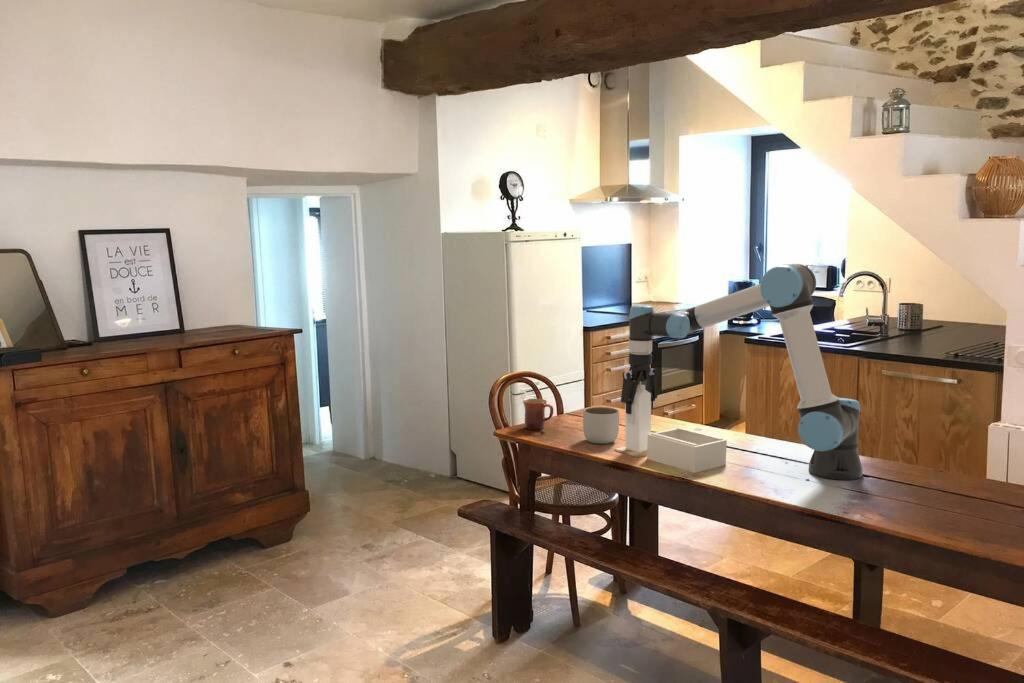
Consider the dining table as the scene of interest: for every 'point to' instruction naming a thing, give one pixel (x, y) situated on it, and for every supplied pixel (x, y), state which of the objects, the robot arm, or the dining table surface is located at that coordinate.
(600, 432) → the planter
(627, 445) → the milk
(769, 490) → the dining table surface
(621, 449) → the mat
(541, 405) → the mug
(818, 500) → the dining table surface
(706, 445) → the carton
